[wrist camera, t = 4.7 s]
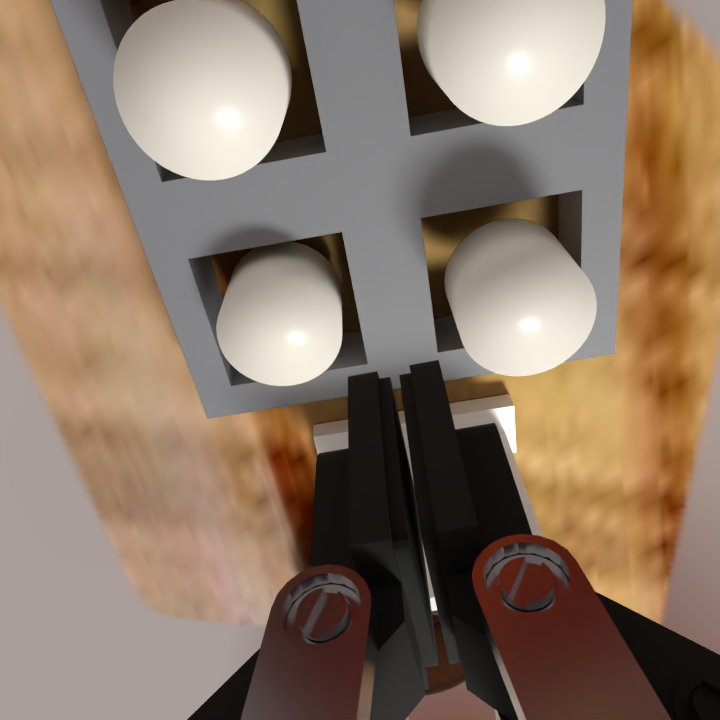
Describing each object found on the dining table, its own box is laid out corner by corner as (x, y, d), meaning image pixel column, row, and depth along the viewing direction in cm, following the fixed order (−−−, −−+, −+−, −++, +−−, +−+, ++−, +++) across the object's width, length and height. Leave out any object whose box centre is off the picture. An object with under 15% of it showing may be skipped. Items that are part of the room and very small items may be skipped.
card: (509, 393, 32) (572, 549, 24) (511, 439, 34) (571, 601, 25) (313, 424, 33) (306, 587, 24) (325, 468, 34) (322, 635, 26)
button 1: (566, -80, 19) (608, -88, 16) (565, 89, 22) (603, 110, 19) (407, -48, 19) (420, -50, 16) (425, 115, 22) (439, 139, 19)
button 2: (566, 208, 24) (598, 243, 21) (565, 319, 26) (594, 364, 23) (438, 230, 24) (452, 268, 21) (450, 338, 27) (464, 385, 24)
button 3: (272, -21, 20) (261, -18, 17) (305, 137, 22) (301, 165, 19) (123, 9, 20) (85, 18, 17) (172, 162, 22) (147, 193, 20)
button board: (603, -167, 20) (641, -186, 18) (591, 320, 30) (615, 353, 27) (65, -54, 22) (29, -56, 19) (218, 381, 31) (207, 418, 28)
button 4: (329, 231, 26) (328, 266, 23) (350, 332, 29) (352, 375, 26) (215, 251, 26) (199, 288, 23) (245, 349, 29) (235, 394, 26)
